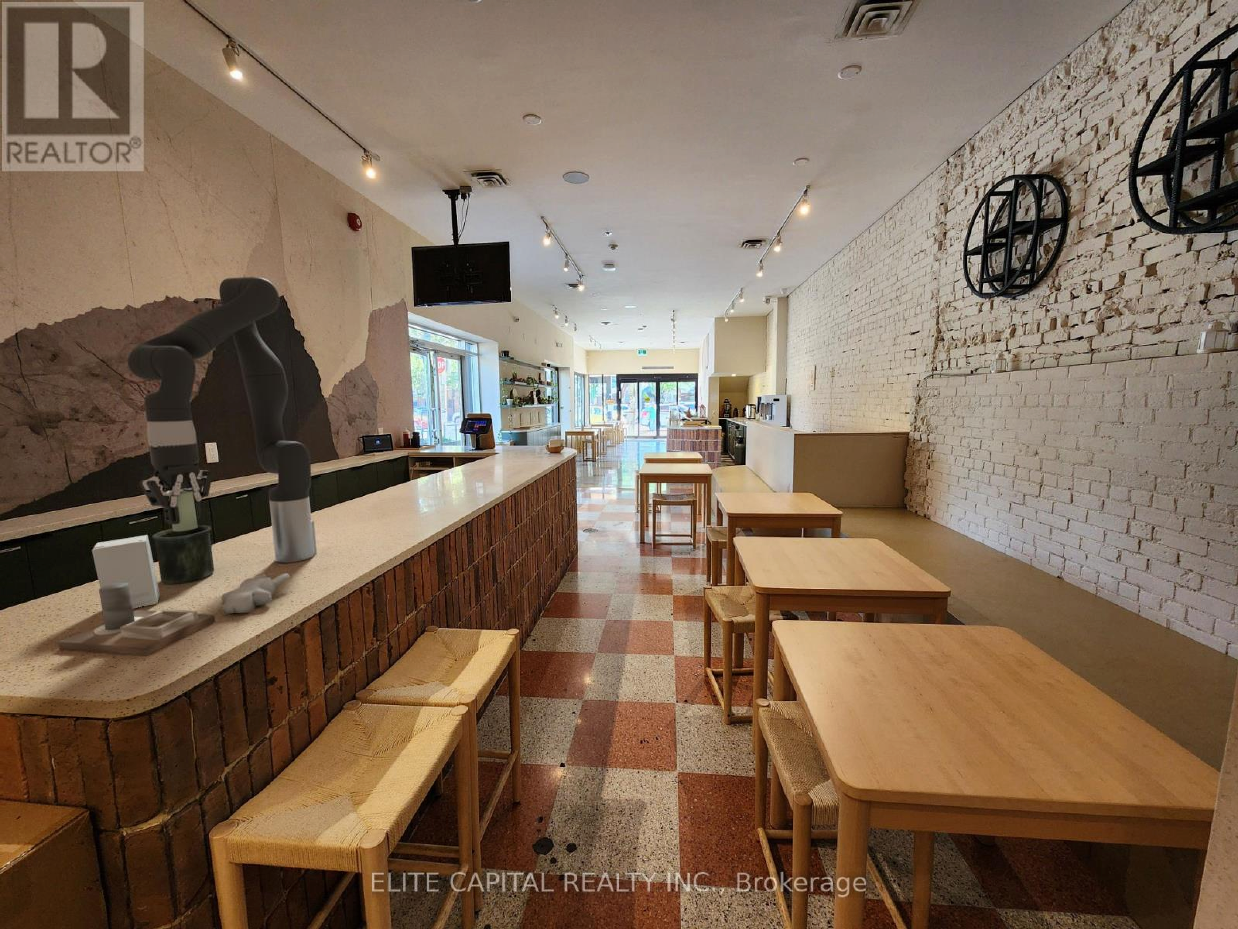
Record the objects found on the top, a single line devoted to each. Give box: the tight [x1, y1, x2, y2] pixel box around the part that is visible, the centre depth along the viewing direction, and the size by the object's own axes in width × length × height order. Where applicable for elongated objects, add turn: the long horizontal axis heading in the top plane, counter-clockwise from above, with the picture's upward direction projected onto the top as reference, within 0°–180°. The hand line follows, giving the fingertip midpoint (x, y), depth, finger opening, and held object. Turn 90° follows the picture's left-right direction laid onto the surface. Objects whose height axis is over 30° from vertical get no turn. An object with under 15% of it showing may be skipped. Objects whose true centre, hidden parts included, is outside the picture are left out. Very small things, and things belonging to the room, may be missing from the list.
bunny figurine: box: [220, 573, 292, 615], centre depth 107 cm, size 10×5×15 cm
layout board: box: [57, 583, 216, 657], centre depth 92 cm, size 13×18×10 cm
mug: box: [152, 525, 215, 585], centre depth 123 cm, size 11×15×12 cm
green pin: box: [169, 490, 199, 531], centre depth 104 cm, size 4×4×8 cm
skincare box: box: [91, 534, 160, 610], centre depth 104 cm, size 8×6×15 cm
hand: (184, 520), depth 104 cm, fingers closed on green pin, 4 cm apart
